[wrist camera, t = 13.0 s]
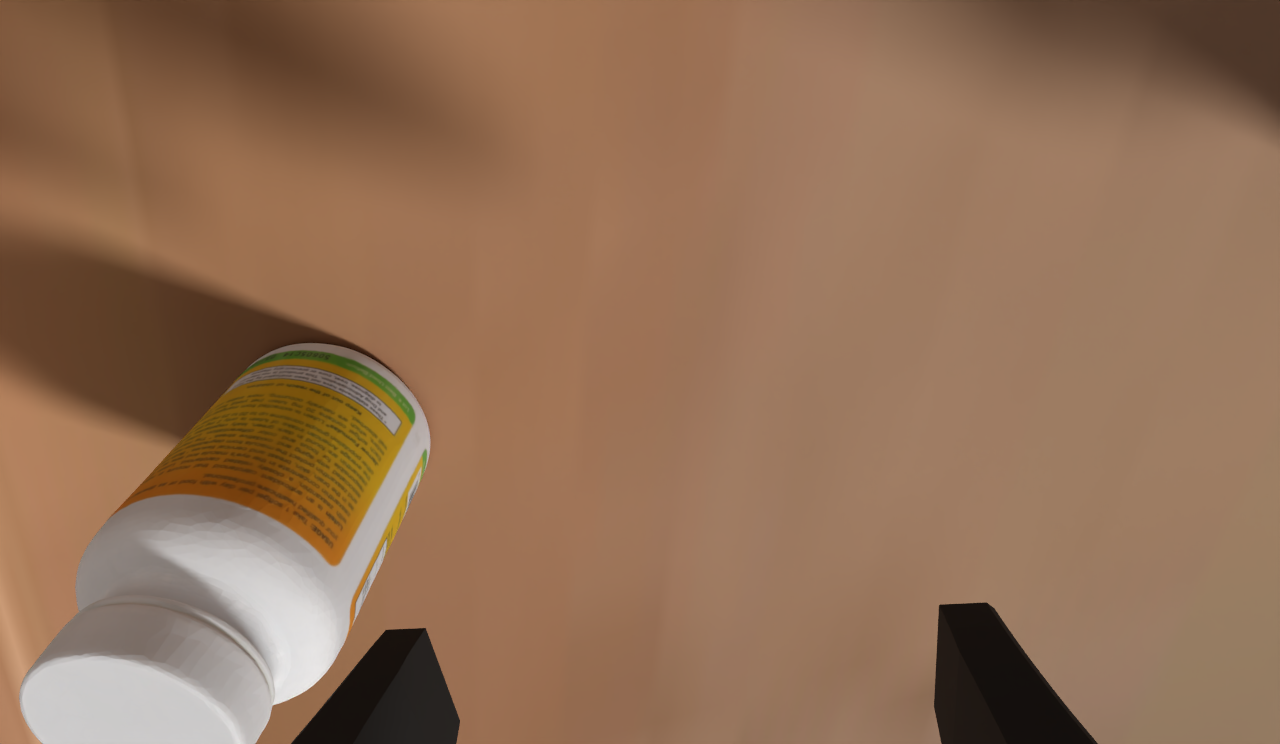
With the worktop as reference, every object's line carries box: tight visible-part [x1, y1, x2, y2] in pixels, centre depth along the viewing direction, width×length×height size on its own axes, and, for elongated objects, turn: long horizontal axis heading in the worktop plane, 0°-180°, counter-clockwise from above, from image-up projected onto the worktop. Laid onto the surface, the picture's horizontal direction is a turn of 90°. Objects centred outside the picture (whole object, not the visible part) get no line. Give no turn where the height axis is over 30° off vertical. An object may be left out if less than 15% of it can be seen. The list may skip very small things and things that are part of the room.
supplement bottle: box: [19, 343, 430, 744], centre depth 19 cm, size 5×5×10 cm
